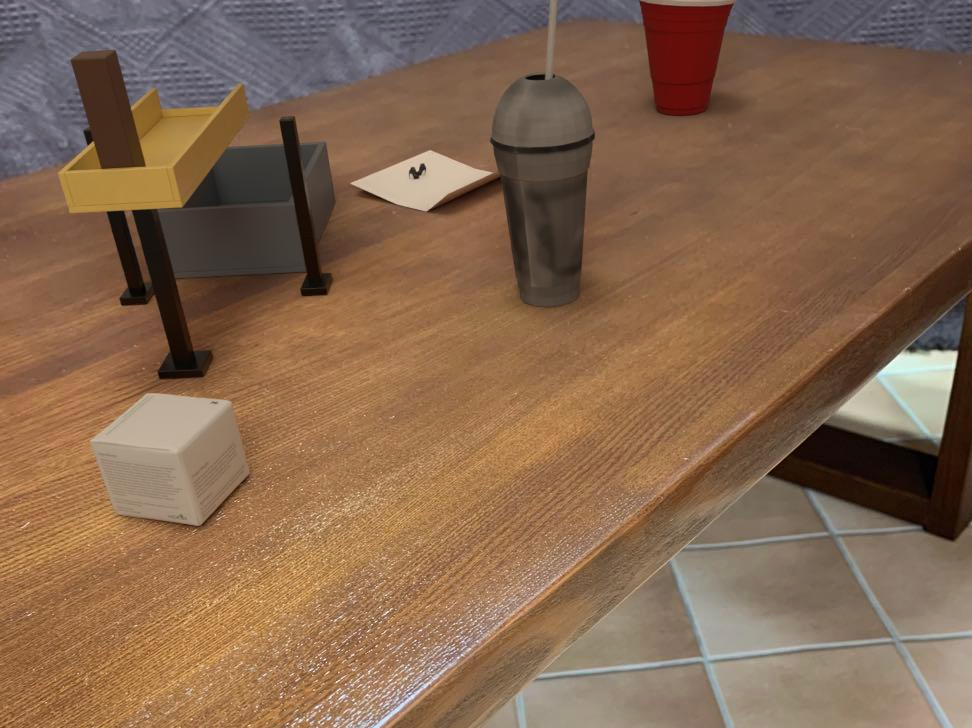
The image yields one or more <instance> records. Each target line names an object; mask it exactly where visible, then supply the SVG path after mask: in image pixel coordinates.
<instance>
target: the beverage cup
mask: <svg viewBox="0 0 972 728" xmlns="http://www.w3.org/2000/svg"><path fill="white" fill-rule="evenodd" d="M557 13H558V0H549V12H548V26H547V42H546V43H547V45H546V59H545V60H546V61H545V72H533V73H529V74H525V75H524V76H521V77H520V78H518V79H516V80H515V81H514V82H512V83H511V84H510V85H509V86H508V87H507V88H506V90H505V91H504V92H503V93H502V95H501V96H500V99H499V101H498V103H497V105H496V107H495V110H494V114H493V117H492V124H491V135H490V140H489V142H490V144H491V145H492V148H493V155H494V161H495V163H496V167H497V171H499V172H500V175H501V177H500V181H501V187H502V188H501V189H502V195H503V200H504V201H503V202H504V207H505V214H506V222H507V227H508V234H509V240H510V241H509V242H510V247H511V248H510V249H511V254H512V260H513V261H512V262H513V267H514V273H515V278H516V281H517V282H516V283H517V288H518V292H519V293H518V294H519V298H520V300H521V301H522V302H524V303H525V304H527V305H531V306H534V307H543V308H545V307H546V308H547V307H549V308H550V307H551V308H552V307H558V306H563V305H564V306H565V305H567V304H570V303H573V302H574V301H576V300H577V299H578V298H579V297H580V286H581V277H582V273H583V272H582V269H583V256H584V255H583V253H584V238H585V222H586V220H585V219H586V208H587V207H586V205H587V204H586V203H587V188H588V173H589V172H588V171H589V168H590V166H591V160H592V153H593V144H594V143H593V141H594V140H595V139H596V132H595V129H594V127H593V118H592V114H591V110H590V107H589V105H588V103H587V100H586V98H585V97H584V95H583V94H582V93H581V91H580V90H579V89H578V88H577V87H576V86H575V85H574V84H573V83H571V82H570V81H569V80H567V79H566V78H565V77H563V76H560V75H558V74H555V73H554V61H555V46H556V45H555V44H556V29H557V16H558V15H557Z"/></svg>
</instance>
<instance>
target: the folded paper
mask: <svg viewBox="0 0 972 728" xmlns="http://www.w3.org/2000/svg"><path fill="white" fill-rule="evenodd" d="M499 178H501V175H500V172H499V170H497V171H494V172H492V171H487V170H482V169H477V168H475V167H472V166H470V165H467V164H465V163H462V162H460V161H458V160H455V159H453V158H450V157H448V156H446V155H443V154H441V153H439V152H436V151H433V150H431V149H429V150H427V151H424V152H422V153H420V154H417V155H414V156H413V157H410V158H407V159H405V160H403V161H400V162H398V163H395V164H393V165H391V166H388V167H386V168H384V169H383V168H382V169H381V170H379V171H376V172H373V173H371V174H369V175H367V176H364V177H362V178H359V179H357V180H354V181H352V182H349V184H351V185H353V186H354V187H356V188H359V189H362V190H363V191H366V192H368V193H370V194H372V195H375V196H377V197H380V198H382V199H384V200H386V201H388V202H391V203H393V204H395V205H398V206H401V207H405V208H409V209H414V210H417V211H418V210H419V211H423V212H429V211H431V210H433V209H435V208H437V207H439V206H442V205H444V204H446V203H448V202H450V201H452V200H454V199H457V198H459V197H461V196H463V195H465V194H467V193H468V192H471V191H474V190H475V189H477V188H479V187H482V186H485V185H487V184H489V183H490V182H493V181H495V180H497V179H499Z"/></svg>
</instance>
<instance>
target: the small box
mask: <svg viewBox="0 0 972 728" xmlns="http://www.w3.org/2000/svg"><path fill="white" fill-rule="evenodd" d="M238 424H239V423H238V420H237V417H236V412H235V408H234V404H233V402H232V401H231V400H229V399H221V398H220V399H219V398H211V397H210V398H208V397H197V396H186V395H177V394H171V393H158V392H157V393H155V392H147V393H145V394H144V395H143V396H142V397H140V398H139V399H138V400H137V401H136V402H135V403H134V404H133V405H131V406H130V407H129V408H128V409H126V410H125V411H124V412H123V413H122V414H120V415H119V416H118V417H117V418H116V419H115V420H113V421H112V422H110V424H109V425H107V426H106V427H105V428H103V429H102V430H101V431H100V432H99V433H97V434H96V435H95V436H93V437H92V438H91V439H90V440H89V443H90V446H91V449H92V452H93V455H94V457H95V460H96V464H97V466H98V469H99V472H100V475H101V478H102V480H103V483H104V486H105V489H106V491H107V495H108V498H109V500H110V503H111V506H112V509H113V511H114V513H115V514H116V515H119V516H124V517H130V518H131V517H132V518H137V519H143V520H145V519H146V520H155V521H163V522H169V523H175V524H182V525H190V526H197V527H200V526H203V524H204V523H205V522H206V521H207V520H208V518H209V517H210V516H212V514H213V513H214V512H215V511H216V510H217V508H218V507H220V506H221V504H223V502H225V500H226V499H227V498H228V497H229V496H230V495H231V494H232V493H233V492H234V491H235V489H237V488H238V486H239V485H241V483H243V481H245V479H247V477H248V476H249V475H250V473H251V472H250V467H249V464H248V460H247V456H246V452H245V447H244V444H243V440H242V437H241V432H240V427H239V425H238Z"/></svg>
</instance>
